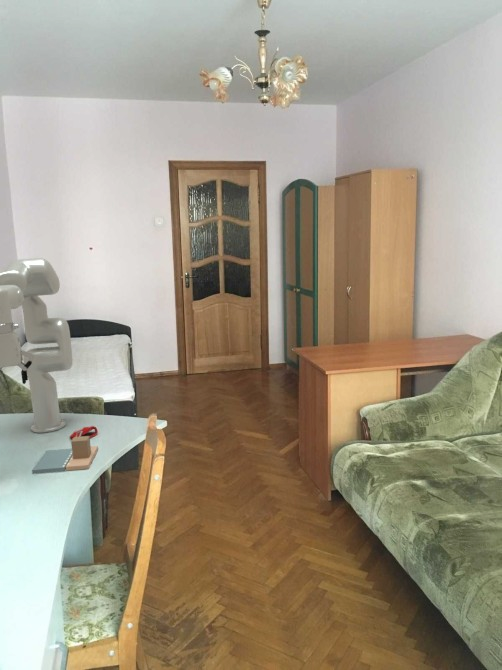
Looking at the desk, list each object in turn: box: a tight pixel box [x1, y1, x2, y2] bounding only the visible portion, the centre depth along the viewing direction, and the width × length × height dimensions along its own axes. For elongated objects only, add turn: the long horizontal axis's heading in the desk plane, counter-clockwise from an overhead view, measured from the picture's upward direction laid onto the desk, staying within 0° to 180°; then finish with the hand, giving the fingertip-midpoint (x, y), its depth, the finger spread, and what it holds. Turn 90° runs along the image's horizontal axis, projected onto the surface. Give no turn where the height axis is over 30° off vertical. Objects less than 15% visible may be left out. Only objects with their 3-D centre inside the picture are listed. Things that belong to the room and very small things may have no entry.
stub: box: [65, 435, 99, 471], centre depth 181 cm, size 16×7×7 cm, turn 5°
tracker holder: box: [69, 425, 99, 440], centre depth 202 cm, size 12×4×10 cm
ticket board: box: [31, 447, 73, 475], centre depth 181 cm, size 16×10×1 cm, turn 5°
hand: (7, 385), depth 167 cm, fingers open, 9 cm apart
